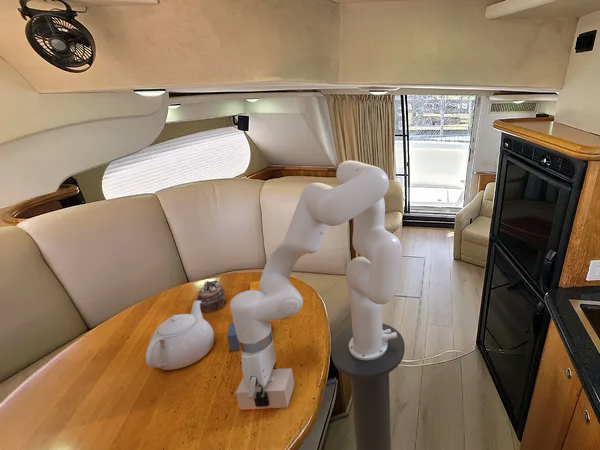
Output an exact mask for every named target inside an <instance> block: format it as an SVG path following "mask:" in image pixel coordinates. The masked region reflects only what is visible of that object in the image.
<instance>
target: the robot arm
mask: <svg viewBox="0 0 600 450" xmlns="http://www.w3.org/2000/svg"><path fill="white" fill-rule="evenodd" d="M335 173H336V175H335V176H336V180H337V183H338V186H335V187H334V186H332V185H329V184H326V183H322V182H311V183H309V184H307V185H306V186H305V187H304V188H303V190H302V192H301V194H300V196H299V198H298V200H297V204H296V207H295V210H294V212H293V215H292V218H291V221H290V223H289V226H288V228H287V230H286V234H285V236H284V238H283V240H282V241H281V242H280V243H279V244H278V245H277V246H276V247H275V249H274V250H273V251H272V252H271V253H270V255H269V257H268V258H267V260H266V262H265V265H264V268H263V270H262V272H261V276H260V279H259V281H260V283H259V291H257V290H245V291H244V290H243V291H241V292H239V293H238V294H235V296H233V297H232V299H231V300H230V303H229V308H230V313H231V318H232V322H234V326H235V330H236V334H237V338H238V342H239V346H240V349H239V350H240V352H241V356H240V357H241V359H240V361H241V372H242V379H243V378H244V383H245V387H246V388H249V395H248V398H249V399H253V398H254V402H255V406H256V407H264V406H268V405H269V400H268V396H267V393H265V385H266V384H267V382H268V379H269V377H270V375H271V372H272V370H273V369H278V368H277V362H276V361H277V352H276V346H275V344H274V336H273V331H272V324H271V322H272V321H278V320H283V319H288V318H291V317H293V316H295V315H297V313H299V312H300V311H301V309H302V307H303V305H304V300H303V299H304V298H303V296H302V294H301V292H299V290H298V289H297V288H296V287H295V286H294V284H293V283H292V282H291V281H290V277H291V275H292V272H293V270H294V268H295V266H296V264H297V262H298V261H299V259H300V258H301V257H303V256H306V255H308V254H309V255H310V254H315V253H317V252H318V251H319V249H320V248H321V244H322V242H323V239H324V236H325V234H326V232H327V229H328V226H329V227H337V226H340V225H342V224H345V223H347V222H348V221H350V220H352V219H353V229H352V230H353V232H352V247H353V249H354V251H355V252H356V253H357V254H358V255H360V256H356V257H354V258H352V259H351V260H350V261H349V262H348V264H347V266H346V267H345V268H346V269H345V281H346V286H347V291H348V294H349V303H350V315H351V317H350V318H351V326H352V331H353V337H352V339H351V340H350V342H349V351H350V353H351V355H352V356H354V357H355V358H357V359H360V360H373V359H376V358H378V357H380V356H382V355H383V354H384V353H385V351H386V350H387V347H388V342H387V341H388V340H389V339H395V338H397V333H396V332H393V333H391V330H390V329H388V330H382V323H383V305H386V304H388V303H390V302H391V301H392V300H393V298H394V297H395V295H396V294H397V291H398V288H399V284H400V283H399V282H400V276H401V268H402V261H403V247H402V243H401V241H400V239H399V238H398V236H397V235H395V234H394V233H392V232H390V231H388V230H387V229H386V227H385V221H386V203H385V198H384V197H385V196H386V194H387V192H388V190H389V187H390V180H389V176H388V174H387V172H385V170H383V169H382V168H380V167H378V166H376V165H373V164H368V163H365V162H361V161H358V160H351V159H349V160H344V161H343V162H341V163H340V164H339V165H338V166H337V168H336V172H335ZM389 333H390V334H389ZM257 382H258V383H257ZM257 387H261V392H256V388H257Z"/></svg>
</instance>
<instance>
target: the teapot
mask: <svg viewBox="0 0 600 450" xmlns="http://www.w3.org/2000/svg"><path fill="white" fill-rule="evenodd" d="M201 302H202V301H197V300H193V302H192V307H191V311H190V313H180V314H174V315H172V316H171V317H169V318H167V319H165V320H164V321H163V322H162V323H161V324H159V325H158V326H157V328H156V329H155V332H154V333H153V334H152V336H151V338H150V340H149V344H148V346H147V348H146V352H145V363H146V365H147V366H148V367H149V368H154V369H161V370H163V371H172V370H178V369H179V370H180V369H183V368H185V367H188V366H190V365H193V364H196V363H197V362H198V361H200V360H201V359H203V358H204V357H205V356H206V355H207V354H208V353H209V352H210V351H211V350H212V348H213V346H214V342H215V334H214V333H215V332H214V329H213V327H212V325H211V324H210V323H209V322H208V321H207V320H206V319H204V316H203V313H202V309H201V307H200V304H201Z"/></svg>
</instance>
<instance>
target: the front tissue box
mask: <svg viewBox="0 0 600 450" xmlns="http://www.w3.org/2000/svg"><path fill="white" fill-rule="evenodd" d="M257 383H258V382H257ZM294 388H295V379H294V374H293V368H291V367H288V368H277V369H273V370H272V372H271V375H270V377H269V379H268V382H267V384H266V385H265V393H267V396H268V400H269V405H268V406H264V407H256V406H255V402H254V398H253V399H249V398H248V395H249V388H246V387H245V383H244V378H243V377H242V379H241V381H240V383H239V385H238V387H237V389H236V391H235V396H236V400H237V403H238V407H239V410H240V411H244V410H258V409H259V410H260V409H261V410H265V409H281V408H289V405H290V400H291V396H292V395H293V391H294ZM256 392H261V387H257V388H256Z"/></svg>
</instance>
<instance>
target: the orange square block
mask: <svg viewBox="0 0 600 450" xmlns="http://www.w3.org/2000/svg"><path fill="white" fill-rule="evenodd" d="M259 283H260V280H255V281H250V284H249V290H257V291H259Z"/></svg>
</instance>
